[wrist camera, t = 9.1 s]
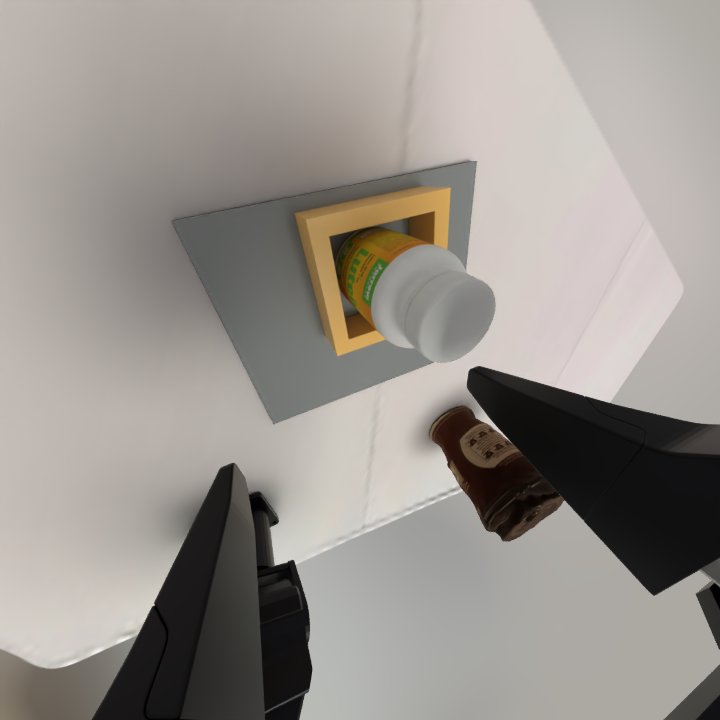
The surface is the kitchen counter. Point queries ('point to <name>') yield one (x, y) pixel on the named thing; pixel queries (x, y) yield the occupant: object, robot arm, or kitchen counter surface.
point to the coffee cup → (494, 475)
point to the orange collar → (318, 224)
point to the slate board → (303, 290)
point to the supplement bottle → (414, 293)
